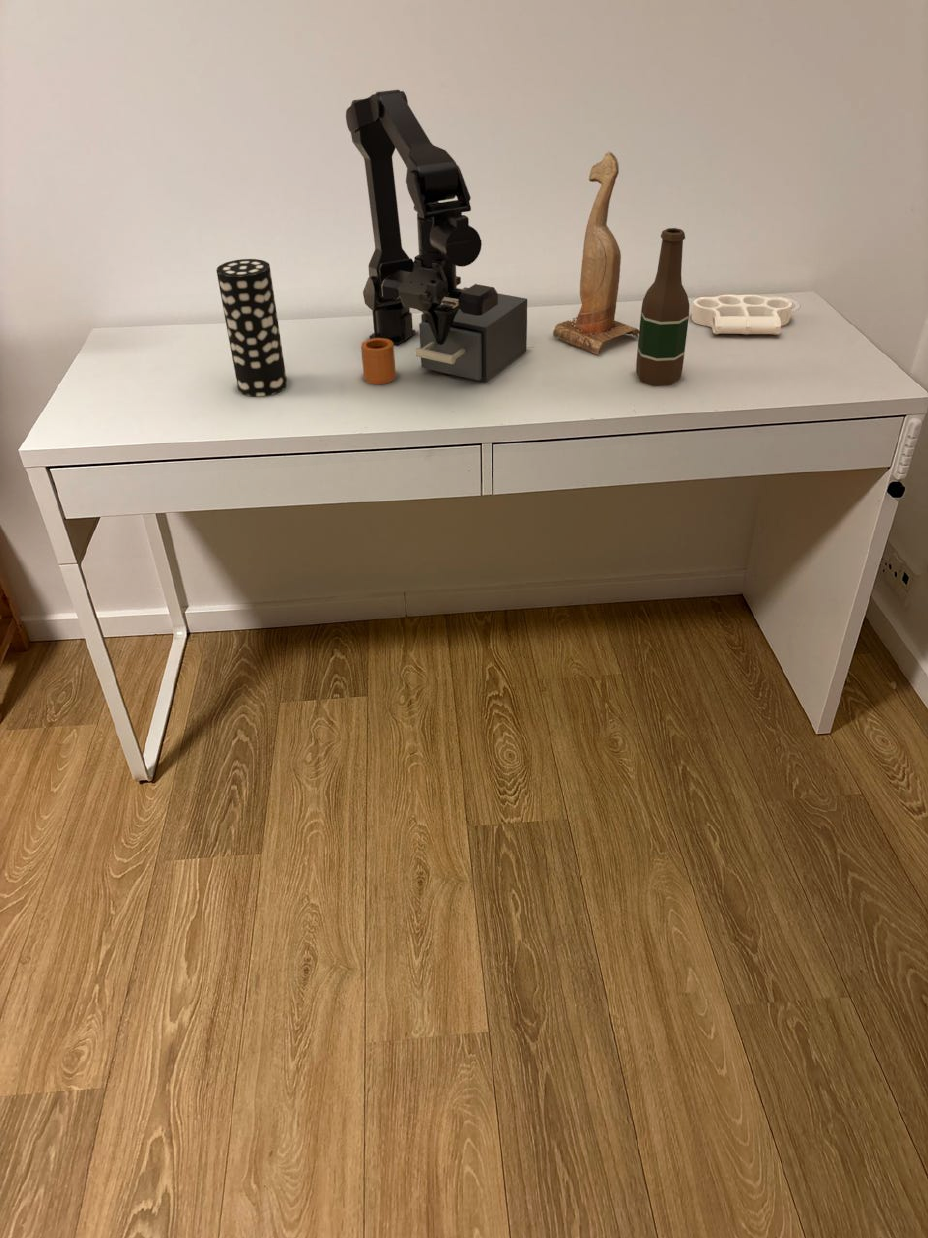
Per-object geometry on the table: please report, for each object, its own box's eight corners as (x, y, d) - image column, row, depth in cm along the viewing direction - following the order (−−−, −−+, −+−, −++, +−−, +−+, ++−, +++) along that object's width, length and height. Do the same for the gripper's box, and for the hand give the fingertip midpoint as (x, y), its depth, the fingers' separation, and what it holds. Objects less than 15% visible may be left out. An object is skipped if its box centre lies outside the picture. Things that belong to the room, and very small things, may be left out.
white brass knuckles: (696, 338, 176) (688, 308, 188) (797, 339, 175) (783, 308, 186) (698, 320, 174) (690, 291, 185) (800, 320, 173) (786, 291, 184)
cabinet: (486, 382, 164) (486, 327, 158) (423, 368, 169) (420, 314, 163) (526, 351, 174) (527, 298, 168) (466, 338, 179) (464, 286, 173)
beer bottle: (684, 370, 166) (702, 224, 151) (677, 389, 160) (695, 239, 145) (639, 364, 168) (653, 221, 153) (630, 383, 162) (643, 235, 147)
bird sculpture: (590, 322, 183) (600, 137, 163) (640, 338, 177) (657, 148, 157) (551, 339, 177) (557, 150, 157) (601, 357, 171) (614, 161, 151)
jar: (358, 380, 166) (354, 346, 162) (375, 368, 169) (373, 335, 166) (384, 386, 163) (381, 352, 160) (401, 374, 167) (399, 341, 163)
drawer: (463, 392, 159) (462, 346, 154) (405, 378, 164) (402, 333, 159) (516, 351, 171) (516, 308, 166) (461, 340, 176) (459, 297, 171)
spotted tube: (240, 377, 168) (219, 260, 156) (288, 374, 168) (271, 257, 156) (235, 398, 161) (213, 277, 149) (285, 394, 162) (267, 274, 149)
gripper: (357, 253, 148) (366, 351, 158) (462, 272, 140) (465, 373, 150) (397, 233, 156) (403, 327, 165) (499, 249, 148) (499, 347, 158)
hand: (441, 343), depth 159 cm, fingers closed
